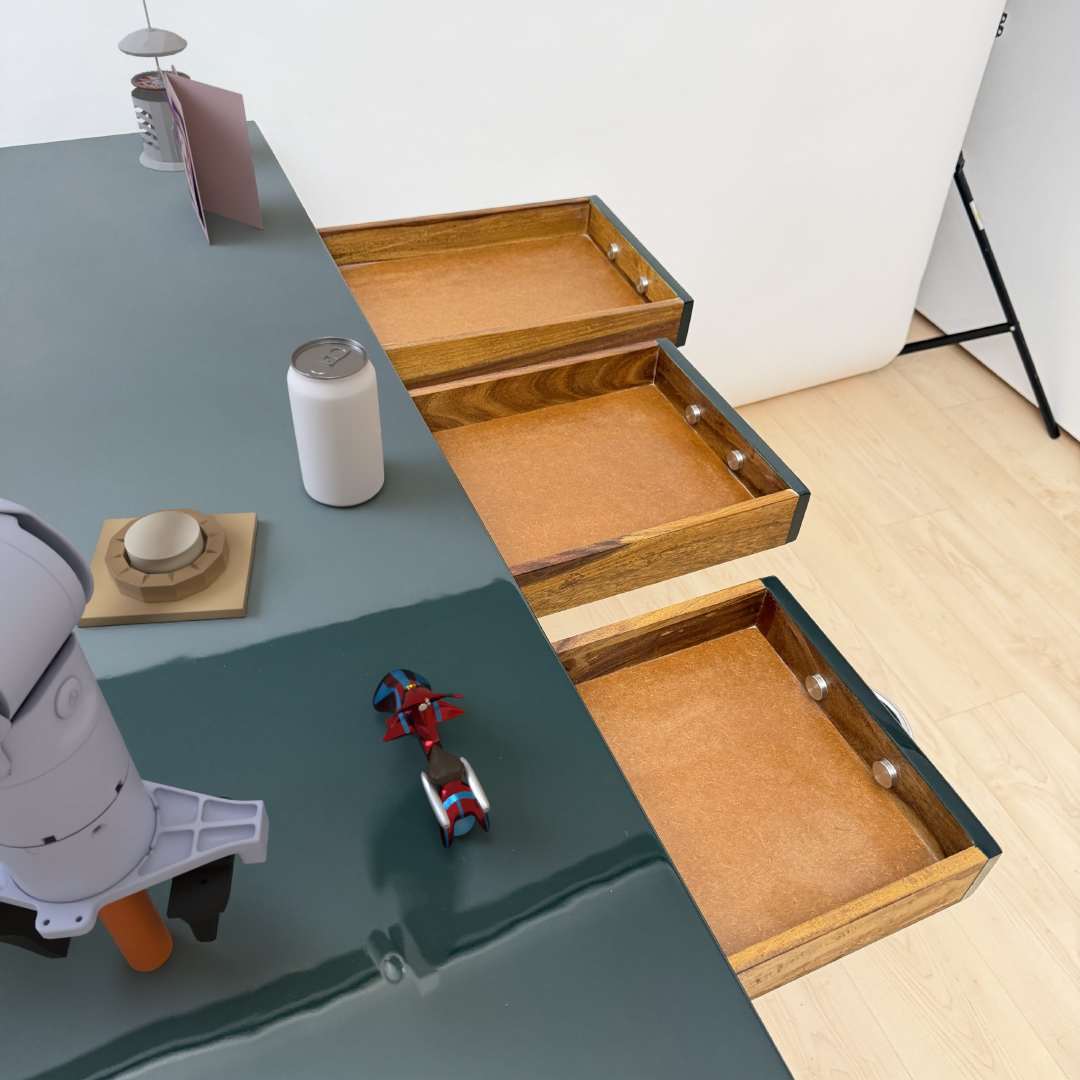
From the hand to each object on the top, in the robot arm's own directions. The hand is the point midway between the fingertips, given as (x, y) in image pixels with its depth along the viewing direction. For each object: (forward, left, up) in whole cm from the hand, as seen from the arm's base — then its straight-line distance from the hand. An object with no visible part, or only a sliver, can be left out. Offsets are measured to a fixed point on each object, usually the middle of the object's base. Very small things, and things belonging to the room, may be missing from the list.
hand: (138, 929), depth 44 cm
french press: (-14, +106, -3) cm, 106 cm away
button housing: (-3, +28, -2) cm, 28 cm away
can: (+9, +36, -3) cm, 38 cm away
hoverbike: (+15, +9, -3) cm, 18 cm away
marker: (0, 0, -2) cm, 2 cm away
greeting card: (-6, +86, -3) cm, 87 cm away
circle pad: (-3, +27, 0) cm, 28 cm away
